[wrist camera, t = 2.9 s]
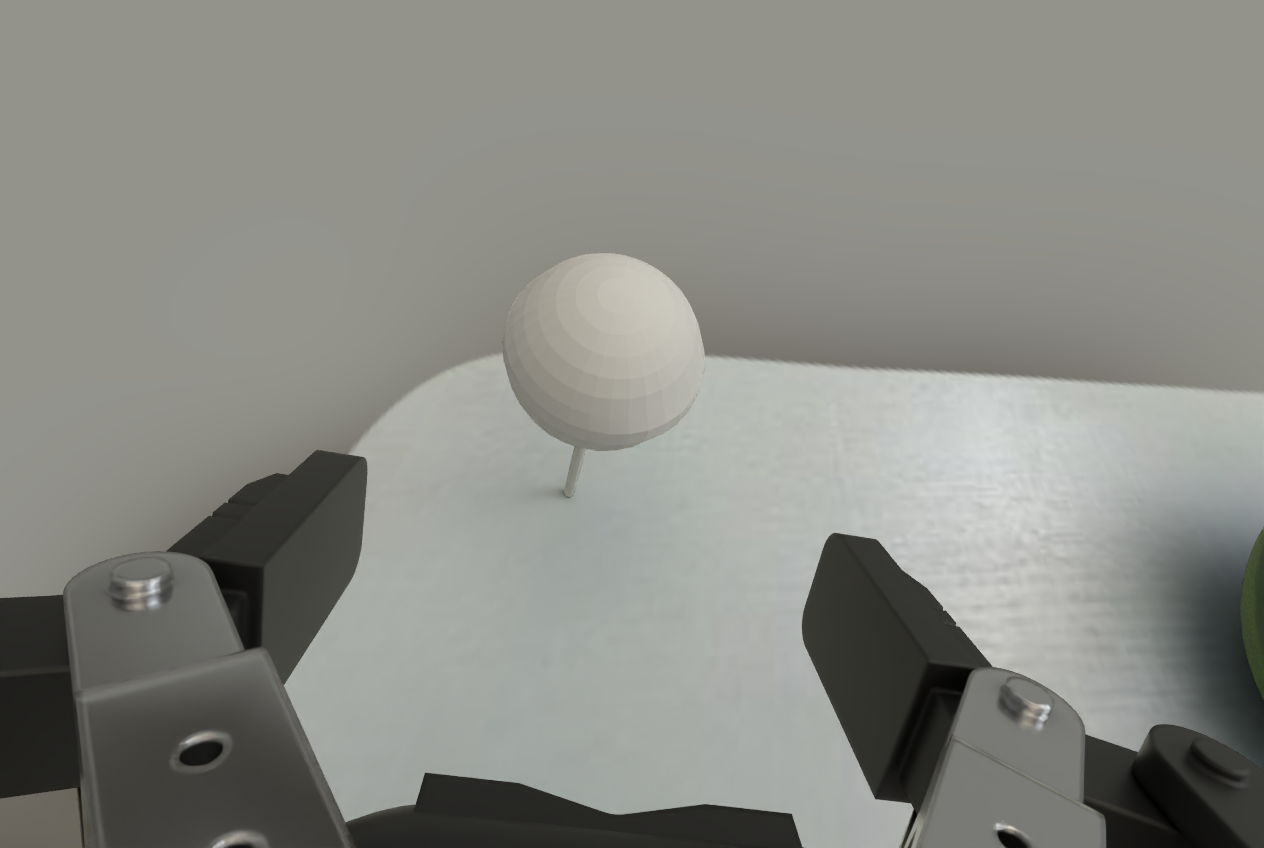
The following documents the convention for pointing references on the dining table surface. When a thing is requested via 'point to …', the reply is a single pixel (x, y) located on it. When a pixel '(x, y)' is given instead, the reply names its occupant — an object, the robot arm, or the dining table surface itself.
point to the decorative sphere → (1254, 612)
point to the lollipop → (603, 354)
